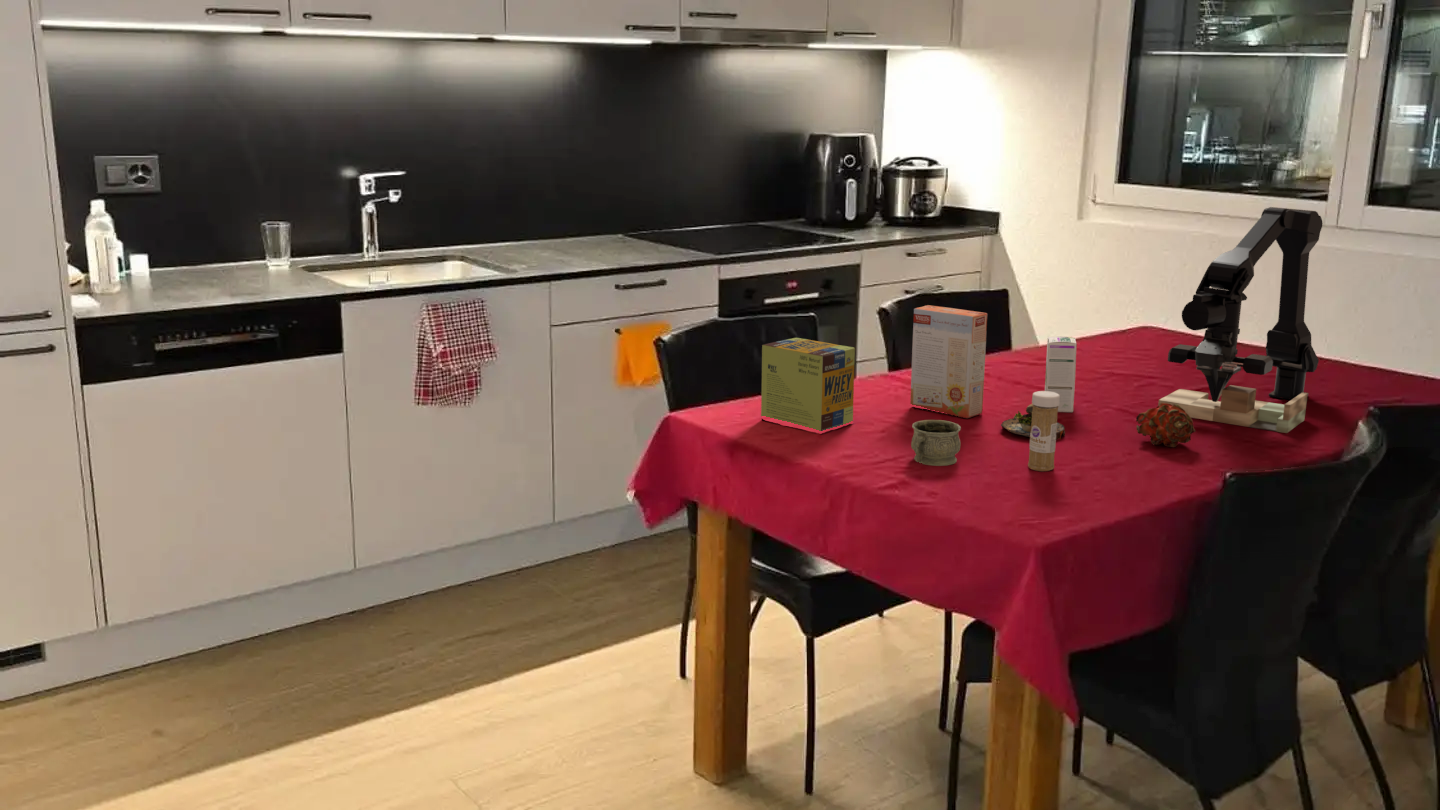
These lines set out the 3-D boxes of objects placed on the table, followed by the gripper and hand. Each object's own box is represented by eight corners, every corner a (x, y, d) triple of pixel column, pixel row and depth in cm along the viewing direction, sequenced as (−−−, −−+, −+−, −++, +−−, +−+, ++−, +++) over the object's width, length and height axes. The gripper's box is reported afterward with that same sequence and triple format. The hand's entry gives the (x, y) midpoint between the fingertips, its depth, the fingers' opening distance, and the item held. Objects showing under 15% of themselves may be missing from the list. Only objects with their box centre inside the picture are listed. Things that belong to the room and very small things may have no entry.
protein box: (821, 435, 244) (823, 355, 240) (760, 420, 254) (760, 344, 250) (854, 424, 251) (856, 347, 247) (793, 410, 261) (794, 336, 257)
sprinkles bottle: (1023, 468, 223) (1027, 393, 220) (1035, 462, 227) (1040, 388, 223) (1047, 473, 220) (1052, 398, 217) (1059, 467, 224) (1064, 393, 220)
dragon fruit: (1189, 461, 232) (1136, 455, 243) (1213, 429, 235) (1159, 423, 245) (1170, 428, 229) (1117, 423, 239) (1194, 395, 232) (1140, 391, 242)
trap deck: (1178, 400, 269) (1181, 374, 268) (1304, 420, 254) (1307, 393, 253) (1157, 411, 260) (1160, 385, 259) (1286, 433, 245) (1290, 405, 244)
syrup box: (1073, 412, 259) (1078, 342, 256) (1043, 411, 261) (1048, 341, 257) (1071, 405, 265) (1076, 336, 261) (1042, 404, 266) (1047, 335, 262)
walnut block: (1228, 404, 256) (1230, 385, 255) (1254, 408, 253) (1256, 388, 252) (1220, 409, 252) (1222, 389, 251) (1246, 413, 249) (1248, 393, 248)
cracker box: (983, 414, 258) (989, 312, 253) (967, 420, 254) (972, 316, 249) (925, 402, 268) (929, 303, 262) (908, 407, 263) (912, 307, 258)
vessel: (935, 448, 236) (936, 415, 234) (975, 458, 230) (977, 424, 228) (894, 461, 227) (895, 427, 226) (935, 472, 221) (936, 437, 220)
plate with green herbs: (989, 429, 249) (991, 392, 247) (1040, 423, 253) (1042, 386, 251) (1025, 445, 238) (1027, 406, 236) (1078, 439, 242) (1080, 400, 240)
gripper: (1161, 324, 251) (1154, 401, 255) (1259, 337, 240) (1250, 417, 244) (1181, 316, 259) (1174, 391, 263) (1277, 328, 248) (1268, 406, 252)
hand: (1215, 401), depth 255 cm, fingers closed
